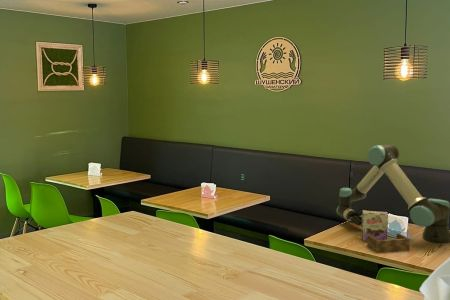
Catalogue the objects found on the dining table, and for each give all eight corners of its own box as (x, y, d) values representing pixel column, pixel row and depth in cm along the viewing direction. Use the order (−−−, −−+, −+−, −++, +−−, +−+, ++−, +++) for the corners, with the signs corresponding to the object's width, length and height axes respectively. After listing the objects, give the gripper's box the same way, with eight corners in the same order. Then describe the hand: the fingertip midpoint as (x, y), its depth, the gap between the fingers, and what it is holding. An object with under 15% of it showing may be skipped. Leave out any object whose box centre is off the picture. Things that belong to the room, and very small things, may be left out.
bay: (398, 243, 254) (399, 233, 253) (409, 249, 244) (409, 239, 243) (367, 246, 251) (367, 235, 250) (376, 252, 241) (377, 241, 240)
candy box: (361, 240, 260) (362, 212, 258) (361, 237, 266) (362, 209, 264) (386, 242, 256) (388, 214, 254) (386, 239, 262) (387, 211, 260)
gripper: (361, 221, 288) (380, 232, 265) (341, 222, 286) (359, 233, 263) (361, 209, 288) (381, 219, 265) (342, 210, 285) (360, 220, 262)
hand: (370, 226), depth 264 cm, fingers closed
